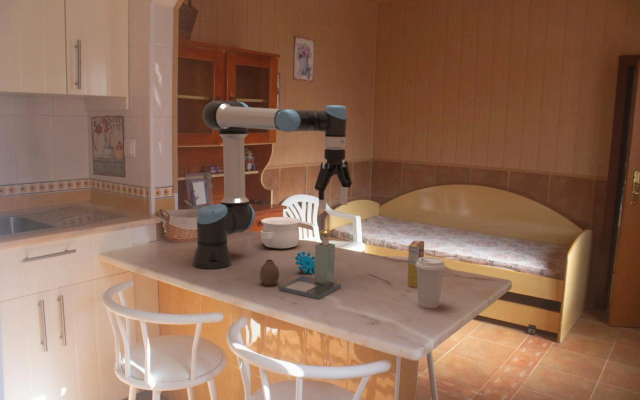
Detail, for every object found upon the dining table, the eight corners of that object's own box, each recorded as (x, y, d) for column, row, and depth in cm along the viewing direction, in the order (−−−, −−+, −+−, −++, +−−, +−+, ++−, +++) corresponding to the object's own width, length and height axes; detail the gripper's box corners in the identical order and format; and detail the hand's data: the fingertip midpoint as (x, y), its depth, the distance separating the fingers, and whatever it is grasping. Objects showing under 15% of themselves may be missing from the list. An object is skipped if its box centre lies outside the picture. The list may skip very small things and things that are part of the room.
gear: (301, 272, 206) (293, 250, 211) (293, 280, 209) (286, 258, 215) (325, 272, 212) (317, 250, 217) (317, 280, 216) (310, 258, 221)
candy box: (411, 279, 206) (413, 239, 203) (423, 281, 204) (425, 241, 202) (406, 286, 198) (408, 244, 195) (418, 287, 196) (420, 246, 194)
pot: (278, 254, 238) (278, 226, 236) (249, 247, 248) (249, 221, 246) (310, 245, 255) (310, 219, 253) (282, 239, 266) (282, 215, 264)
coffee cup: (410, 299, 183) (412, 256, 181) (438, 299, 184) (440, 256, 181) (417, 310, 174) (420, 264, 171) (447, 309, 174) (450, 264, 172)
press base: (278, 290, 189) (279, 246, 187) (302, 279, 202) (303, 238, 200) (318, 299, 181) (319, 253, 179) (340, 287, 194) (341, 244, 192)
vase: (271, 288, 192) (271, 264, 190) (255, 284, 195) (255, 260, 194) (282, 283, 197) (283, 259, 196) (267, 280, 201) (267, 256, 200)
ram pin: (317, 261, 192) (318, 231, 190) (322, 259, 195) (323, 229, 193) (326, 263, 190) (327, 232, 188) (332, 260, 193) (333, 230, 192)
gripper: (323, 150, 187) (321, 212, 190) (362, 148, 206) (360, 203, 210) (305, 149, 191) (304, 209, 194) (345, 146, 211) (343, 201, 214)
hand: (333, 206), depth 202 cm, fingers open, 13 cm apart
